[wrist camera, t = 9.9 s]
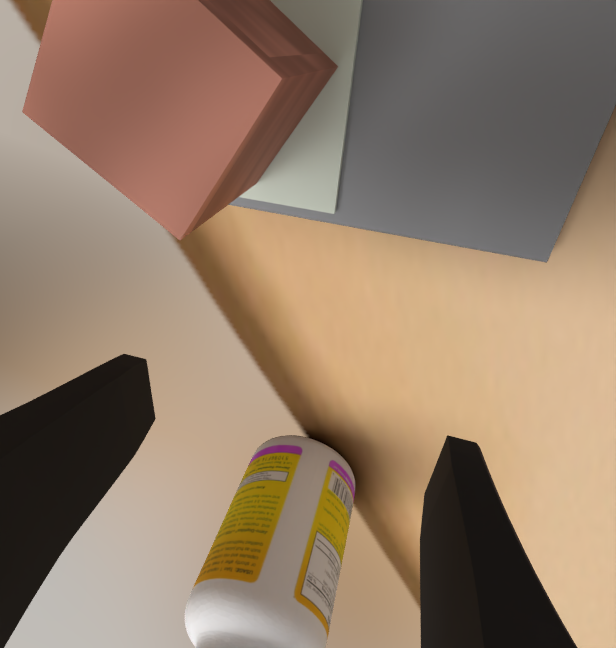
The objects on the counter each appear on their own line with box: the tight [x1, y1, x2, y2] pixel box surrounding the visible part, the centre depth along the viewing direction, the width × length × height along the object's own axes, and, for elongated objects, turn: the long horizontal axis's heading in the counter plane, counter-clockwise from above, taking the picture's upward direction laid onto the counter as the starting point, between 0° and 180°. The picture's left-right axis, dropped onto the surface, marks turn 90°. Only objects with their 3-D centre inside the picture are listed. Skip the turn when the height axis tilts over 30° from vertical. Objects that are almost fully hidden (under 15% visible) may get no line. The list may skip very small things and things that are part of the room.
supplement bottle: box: [185, 435, 355, 648], centre depth 22 cm, size 7×7×13 cm
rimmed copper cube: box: [23, 0, 338, 240], centre depth 13 cm, size 5×5×6 cm
